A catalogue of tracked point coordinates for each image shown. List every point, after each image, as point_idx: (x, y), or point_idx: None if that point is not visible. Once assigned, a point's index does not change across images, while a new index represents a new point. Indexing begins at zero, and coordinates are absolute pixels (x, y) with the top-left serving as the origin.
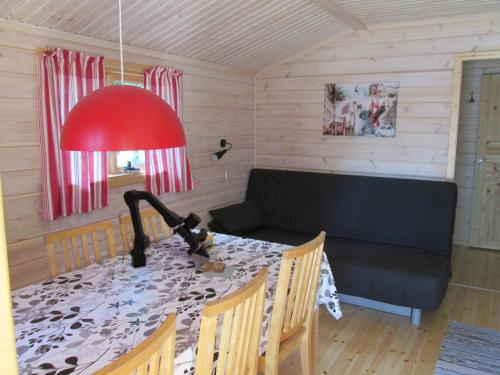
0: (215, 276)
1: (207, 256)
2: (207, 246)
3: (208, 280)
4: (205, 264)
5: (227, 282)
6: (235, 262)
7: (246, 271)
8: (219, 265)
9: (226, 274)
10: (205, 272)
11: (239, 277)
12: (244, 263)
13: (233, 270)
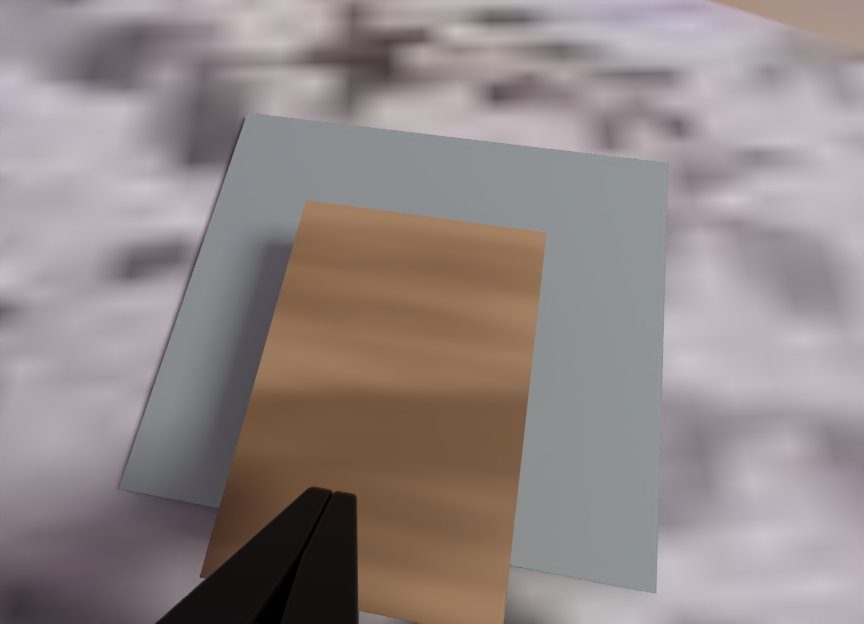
0: (660, 362)
1: (356, 551)
2: None
3: (847, 460)
4: (400, 568)
5: (849, 195)
6: (85, 131)
7: (429, 12)
8: (457, 280)
9: (580, 213)
10: (525, 538)
11: (641, 74)
12: (144, 37)
13: (420, 136)
